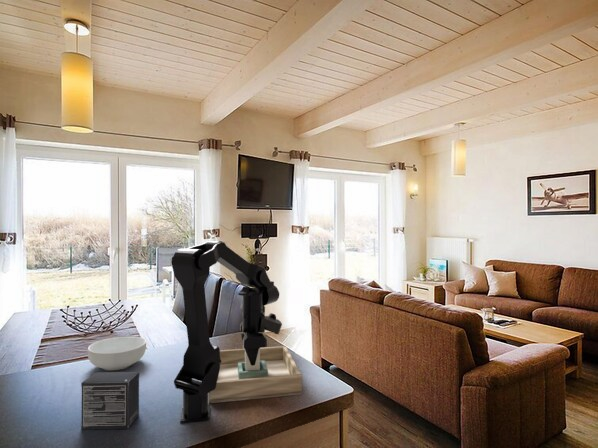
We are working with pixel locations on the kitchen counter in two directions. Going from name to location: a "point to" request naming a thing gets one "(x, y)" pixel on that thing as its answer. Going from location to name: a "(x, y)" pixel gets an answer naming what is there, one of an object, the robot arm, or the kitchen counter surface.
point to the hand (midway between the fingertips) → (252, 362)
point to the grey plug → (252, 367)
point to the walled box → (256, 376)
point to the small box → (110, 400)
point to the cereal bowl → (116, 352)
